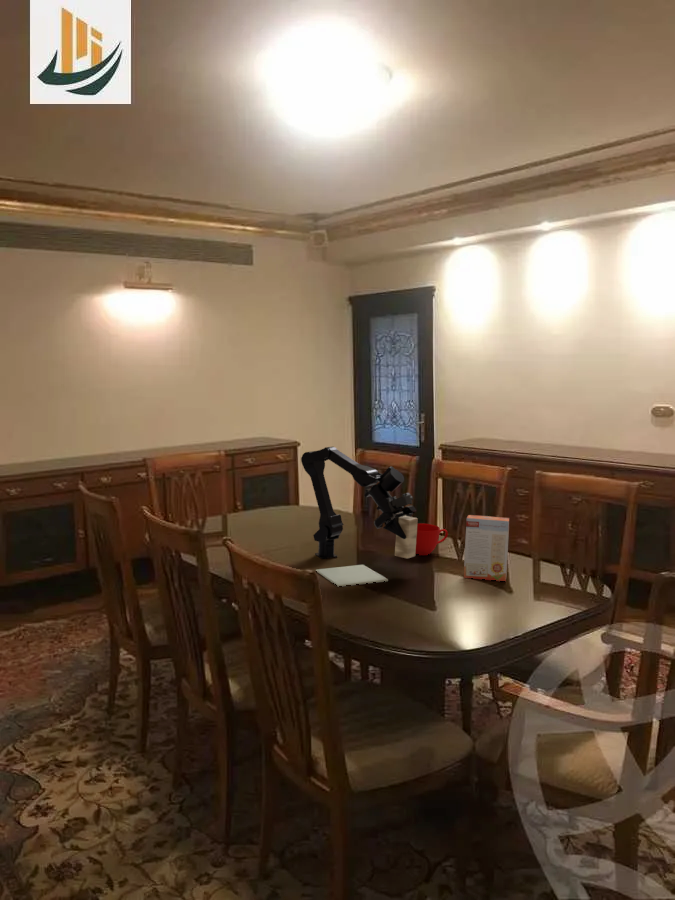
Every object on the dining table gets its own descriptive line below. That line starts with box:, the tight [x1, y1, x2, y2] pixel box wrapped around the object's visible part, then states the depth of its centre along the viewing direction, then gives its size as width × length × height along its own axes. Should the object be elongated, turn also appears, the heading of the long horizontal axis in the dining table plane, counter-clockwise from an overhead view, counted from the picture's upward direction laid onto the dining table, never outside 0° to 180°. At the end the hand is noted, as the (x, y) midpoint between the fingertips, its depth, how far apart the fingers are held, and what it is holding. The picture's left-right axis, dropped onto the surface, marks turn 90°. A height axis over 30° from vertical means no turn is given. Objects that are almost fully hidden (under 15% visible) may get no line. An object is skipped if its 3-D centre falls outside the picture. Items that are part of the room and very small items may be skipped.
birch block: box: [394, 516, 419, 559], centre depth 245 cm, size 5×5×13 cm
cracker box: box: [463, 514, 510, 582], centre depth 245 cm, size 14×6×21 cm, turn 74°
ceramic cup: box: [415, 522, 449, 556], centre depth 275 cm, size 13×17×10 cm
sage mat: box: [315, 564, 389, 588], centre depth 243 cm, size 18×18×1 cm
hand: (409, 537), depth 244 cm, fingers closed on birch block, 5 cm apart
